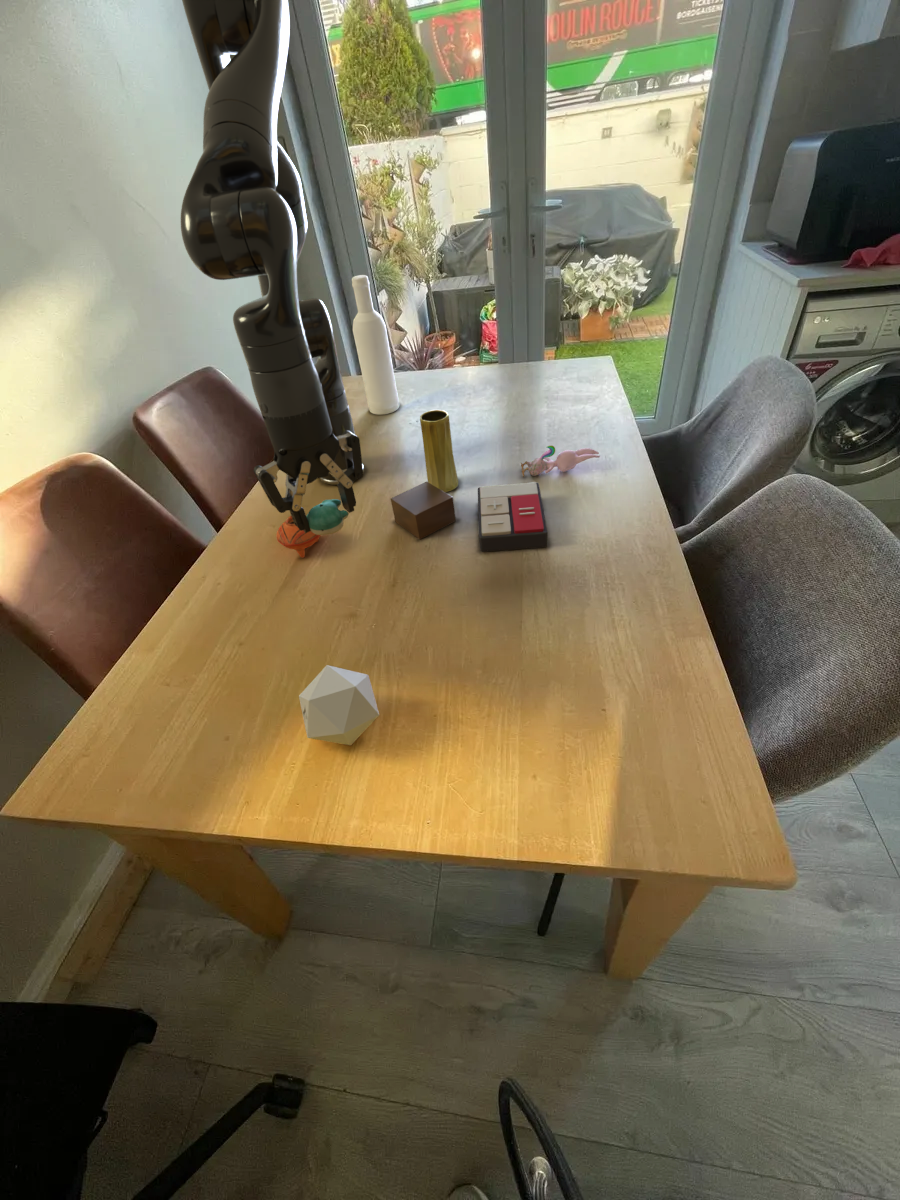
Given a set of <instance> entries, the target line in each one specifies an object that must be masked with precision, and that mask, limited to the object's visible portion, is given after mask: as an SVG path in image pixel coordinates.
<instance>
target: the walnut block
mask: <svg viewBox="0 0 900 1200" xmlns="http://www.w3.org/2000/svg"><path fill="white" fill-rule="evenodd" d="M390 502H391V508H392V513H393V517H394V522H395V523H396V524H397V525H398V526H400V527H402V528H403V529H405V530H406V531H407V532H409V533H410V534H411V535H413V536H414V537H416V538H417V539H418V540H422V539H424V538H426V537H428V536H430V535H432V534H433V533H435V532H438V531H440V530H441V529H443V528H445V527H447V526H448V525H451V524H453V523H455V522H456V519H457V517H456V512H455V511H456V509H455V503H454V496H452V495H451V494H449V493H448V492H444V491H442V490H440V489H439V488H437V487H435V486H434V485H432V484H430V483H428V481H425V482H423V483H420V484H418V485H416V486H414V487H412V488H410V489H407V490H406V491H403V492H401V493H399V494H397V495H394V496H393V497H391V498H390Z"/></svg>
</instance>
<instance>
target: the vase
mask: <svg viewBox="0 0 900 1200" xmlns="http://www.w3.org/2000/svg"><path fill="white" fill-rule="evenodd" d="M419 421H420V422H419V424H420V428H421V436H422V437H421V438H422V445H423V453H424V461H425V469H426V478H427V482H428V483H430V484H432V485H434V486H435V487H437V488H439V489H440V490H442V491H444V492H445V493H448V492H452V491H453V490H455V489H456V488H457V487H458V486H459V479H458V473H457V468H456V463H455V458H454V451H453V441H452V432H451V422H450V415H449V413H448V412H447V411H445V410H441V409H431V410H428V411H425V412H423V413H422V414H421V415H420V417H419Z"/></svg>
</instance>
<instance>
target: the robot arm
mask: <svg viewBox="0 0 900 1200" xmlns="http://www.w3.org/2000/svg"><path fill="white" fill-rule="evenodd" d="M181 3H182V6H183V9H184V14H185V16H186V20H187V23H188V27H189V30H190V34H191V37H192V40H193V43H194V46H195V50H196V53H197V56H198V59H199V63H200V66H201V69H202V72H203V76H204V79H205V82H206V85H207V89H208V93H207V95H206V99H205V102H204V106H203V107H204V108H203V118H202V119H203V120H202V121H203V124H202V125H203V127H202V129H203V131H202V134H203V135H202V154H201V155H200V157H199V159H198V162H197V164H196V166H195V169H194V171H193V174H192V176H191V178H190V180H189V182H188V185H187V186H186V190H185V192H184V195H183V199H182V202H181V209H180V232H181V237H182V241H183V244H184V249H185V250H186V253H187V255H188V257H189V258H190V260H191V262H192V263H193V265H194V266H195V267H196V268H197V269H198V270H199V271H200V272H201V273H202V274H203V275H205V276H206V277H208V278H210V279H213V280H218V281H229V280H238V279H245V278H252V277H257V280H258V284H259V291H260V295H261V296H260V297H258V298H256V299H254V300H251V301H249V302H246V303H244V304H242V305H239V307H237V309H236V310H235V311H234V313H233V316H232V323H233V327H234V331H235V334H236V337H237V340H238V343H239V346H240V349H241V352H242V354H243V358H244V360H245V363H246V366H247V368H248V372H249V376H250V382H251V387H252V390H253V392H254V393H253V394H254V396H255V399H256V402H257V405H258V408H259V411H260V413H261V416H262V419H263V423H264V425H265V428H266V431H267V434H268V436H269V440H270V442H271V445H272V448H273V453H274V454H273V461H271V462H269V463H267V464H265V465H264V466H262V465H256V466H254V468H253V473H254V475H255V478H257V481H258V482H259V485H260V486H261V488H262V489H263V492H264V494H265V495H266V497H267V499H268V501H269V502H270V504H271V505H272V506H273V507H274V508H275V509H276V510H277V512H279V513H280V514H283V513H284V514H285V513H286V512H287V511H288V512H289V513H290V516H292V519H293V522H294V524H295V525H296V526H297V527H298V528H299V529H300V530H301V531H302V530H303V531H304V532H305V533H307V532H310V531H311V530H310V527H309V523H308V520H307V517H306V516H307V514H306V511H305V509H304V507H302V504H303V498H304V495H305V494H306V490H307V485H309V484H312V483H313V482H315V481H316V480H317V479H320V481H321V482H322V483H324V484H325V485H330V486H336V487H337V490H338V493H339V498H340V501H341V505H342V507H343V510H345V511H347V512H348V514H349V513H352V512H355V507H356V506H357V500H356V496H355V492H354V488H353V484H354V483H355V482H356V481H357V480H361V479H362V478H363V477H364V472H365V467H364V464H363V459H362V449H361V439H360V437H359V436H357V434H356V431H355V426H354V422H353V418H352V413H351V409H350V405H349V401H348V397H347V393H346V389H345V384H344V380H343V376H342V370H341V366H340V361H339V357H338V351H337V346H336V341H335V340H336V339H335V334H334V328H333V325H332V324H333V323H332V321H331V318H330V313H329V311H328V309H327V306H326V305H325V304H324V302H323V301H322V300H321V299H320V298H317V297H311V298H306V299H302V300H299V288H298V287H299V286H298V260H299V259H300V256H301V254H302V251H303V248H304V245H305V243H306V242H305V241H306V239H307V234H308V219H307V213H306V205H305V199H304V193H303V187H302V181H301V177H300V174H299V172H298V170H297V168H296V166H295V164H294V163H293V160H292V159H291V157H290V156H289V155H288V153H287V151H286V150H285V149H284V147H283V146H282V145H281V143H280V142H279V141H278V117H279V116H278V114H279V108H280V101H281V95H282V91H283V86H284V80H285V73H286V67H287V60H288V54H289V49H290V37H291V30H290V29H291V19H290V4H289V0H181ZM231 56H233V57H231ZM315 358H317V360H316V361H315V363H314V361H313V359H315ZM279 471H281V472H283V473H284V474H285V475H286V477H285V494H284V495H285V496H284V497H282V495H281V493H280V491H279V489H278V487H277V485H276V483H277V482H278V472H279Z"/></svg>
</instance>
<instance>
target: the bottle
mask: <svg viewBox="0 0 900 1200" xmlns="http://www.w3.org/2000/svg"><path fill="white" fill-rule="evenodd" d="M370 284H371V283H370V280H369V277H368V275H366V274H358V275H354V276H352V278H351V287H352V289H353V293H354V299H355V303H356V309H357V313H356V314H355V317H354V318H353V320H352V321H353V322H352V334H353V338H354V343H355V348H356V353H357V357H358V362H359V367H360V372H361V377H362V381H363V386H364V391H365V396H366V402H367V406H368V410H369V412H370V413H371V414H373V415H379V416H380V415H389V414H391V413H392V414H393V413H394V412H396V411H398V409H399V408H400V399H399V393H398V388H397V384H396V377H395V371H394V366H393V359H392V354H391V348H390V342H389V337H388V331H387V326H386V323H385V320H384V318H383V316H382V315H381V314H380V313H379V312H377V311H376V310H375V309H374V308H375V307H374V304H373V299H372V293H371V292H372V291H371V287H370V286H371V285H370Z"/></svg>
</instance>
